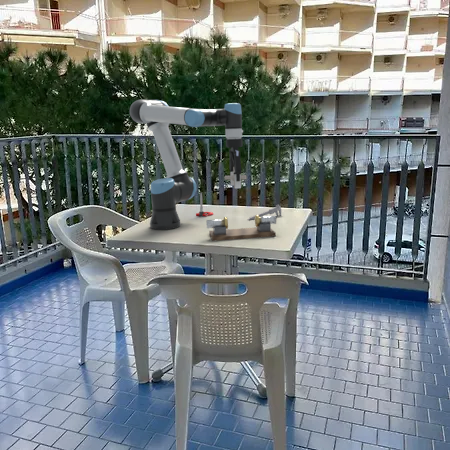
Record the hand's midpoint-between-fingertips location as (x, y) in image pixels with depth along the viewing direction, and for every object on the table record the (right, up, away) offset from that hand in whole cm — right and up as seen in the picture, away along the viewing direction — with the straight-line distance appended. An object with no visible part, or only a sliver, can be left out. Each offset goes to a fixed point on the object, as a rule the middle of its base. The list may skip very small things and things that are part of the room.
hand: (235, 186), depth 199 cm
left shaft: (-8, -22, -10) cm, 25 cm away
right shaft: (+13, -20, -8) cm, 25 cm away
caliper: (+16, -14, +24) cm, 32 cm away
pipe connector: (0, -1, 0) cm, 1 cm away
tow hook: (-16, -13, +37) cm, 42 cm away
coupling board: (+3, -22, -9) cm, 24 cm away
